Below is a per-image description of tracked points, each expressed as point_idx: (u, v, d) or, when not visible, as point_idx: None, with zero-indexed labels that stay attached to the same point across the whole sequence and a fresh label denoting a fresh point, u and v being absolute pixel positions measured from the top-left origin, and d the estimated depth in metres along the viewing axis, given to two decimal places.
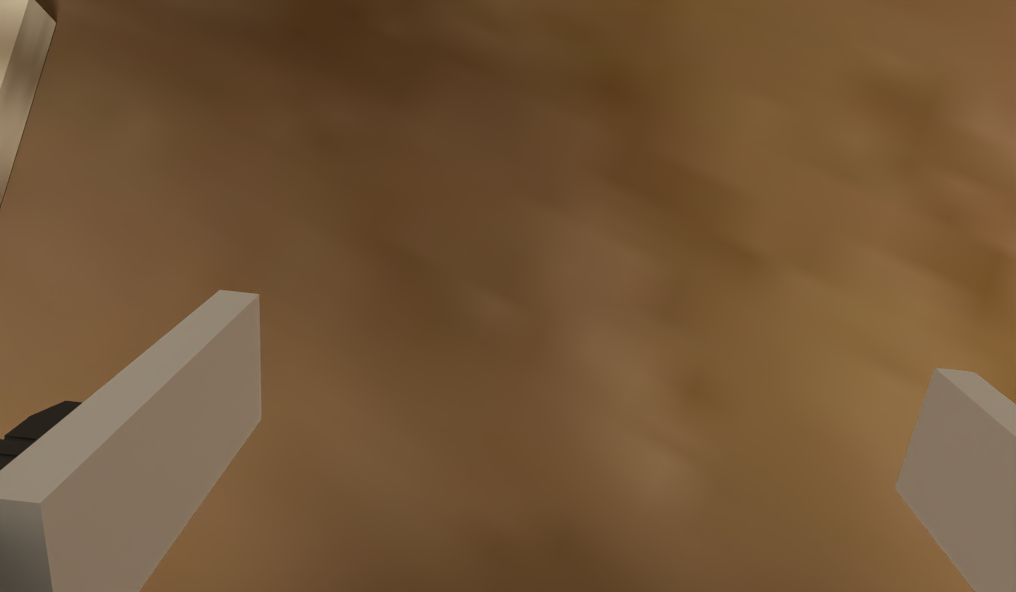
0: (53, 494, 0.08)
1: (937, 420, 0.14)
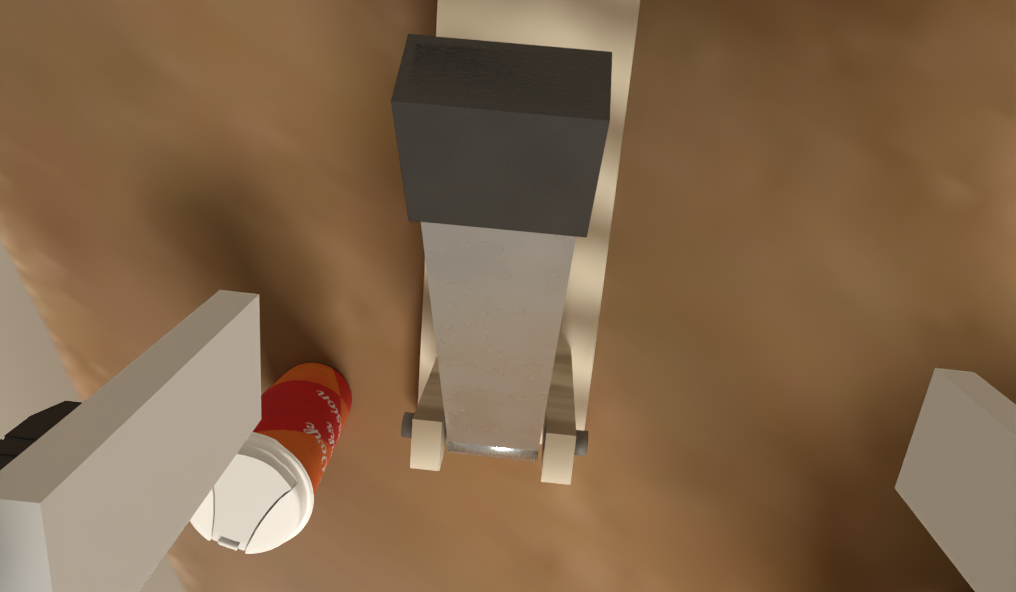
0: (53, 494, 0.08)
1: (937, 420, 0.14)
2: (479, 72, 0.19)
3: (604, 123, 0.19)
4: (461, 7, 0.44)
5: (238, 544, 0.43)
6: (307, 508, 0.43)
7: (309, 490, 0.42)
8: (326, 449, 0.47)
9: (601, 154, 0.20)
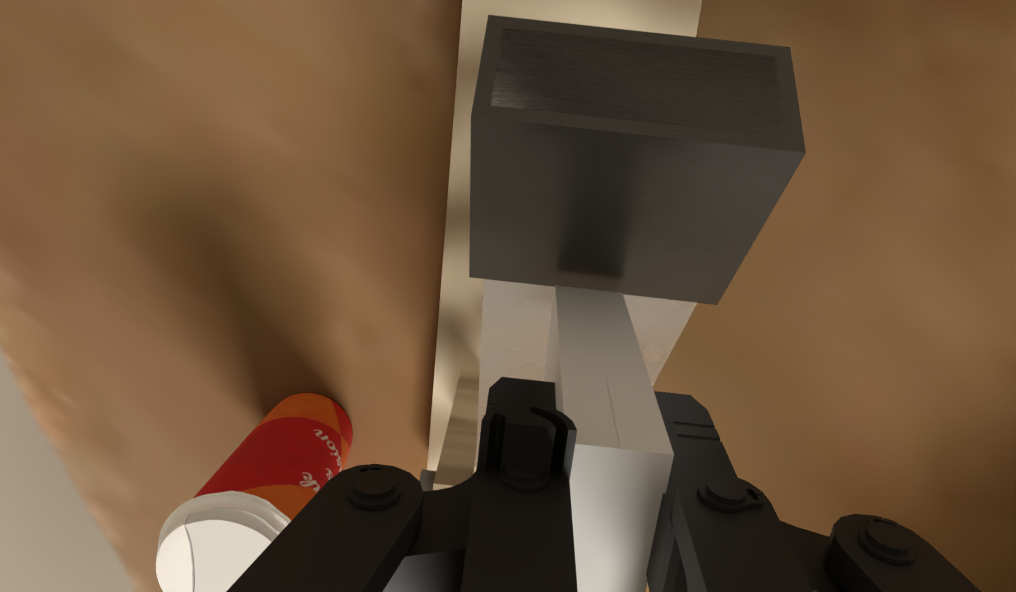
0: (617, 443, 0.10)
1: None
2: (599, 74, 0.13)
3: (795, 156, 0.12)
4: None
5: None
6: None
7: None
8: None
9: (775, 199, 0.13)
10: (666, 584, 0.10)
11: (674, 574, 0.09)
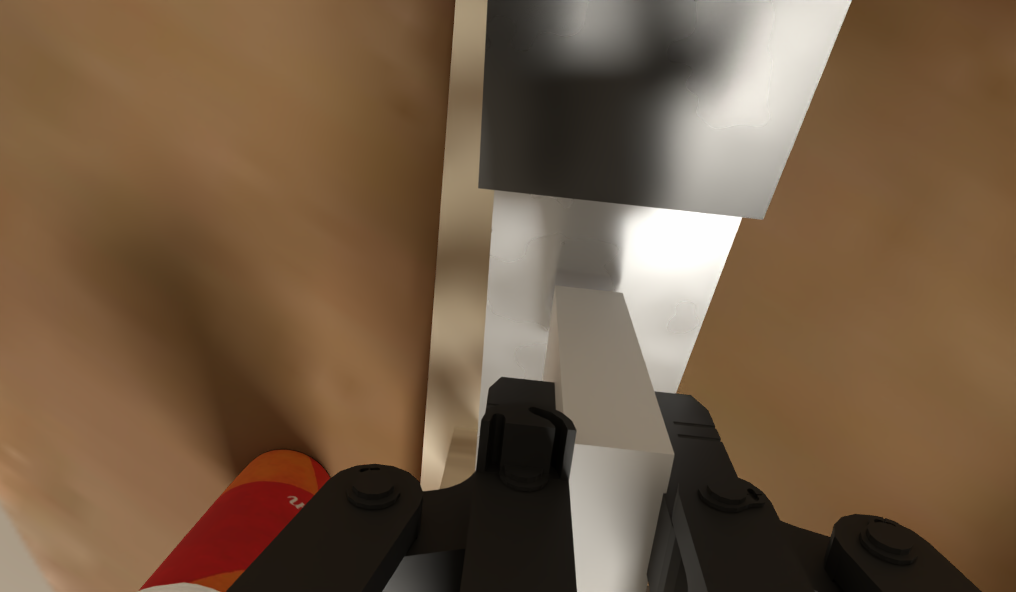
0: (616, 443, 0.10)
1: None
2: None
3: None
4: None
5: None
6: None
7: None
8: None
9: (834, 35, 0.12)
10: (667, 584, 0.10)
11: (675, 574, 0.09)
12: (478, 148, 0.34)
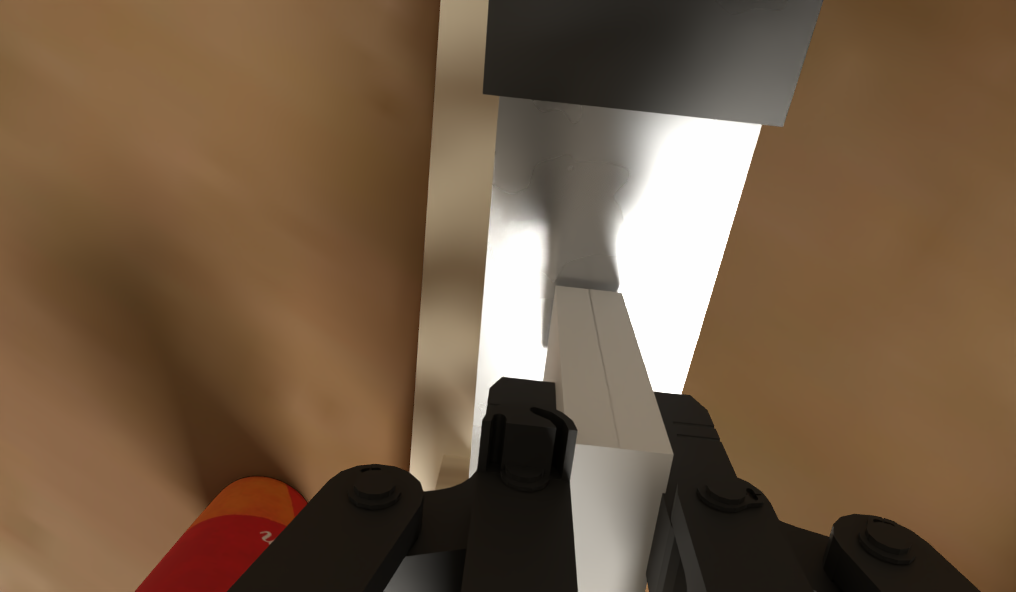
0: (617, 443, 0.10)
1: None
2: None
3: None
4: None
5: None
6: None
7: None
8: None
9: None
10: (666, 584, 0.10)
11: (674, 574, 0.09)
12: (468, 149, 0.31)
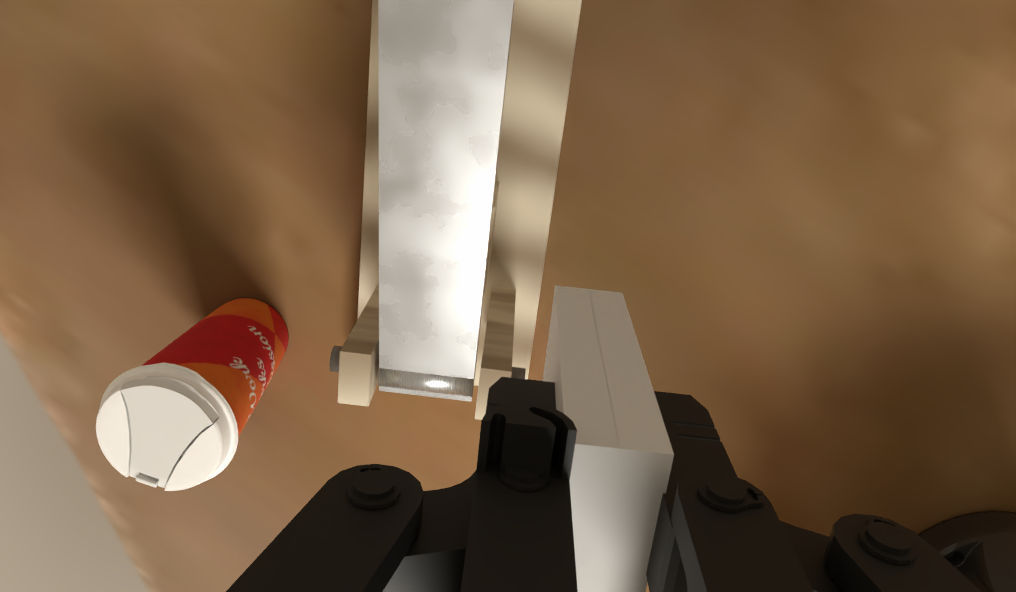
0: (617, 443, 0.10)
1: None
2: None
3: None
4: None
5: (157, 481, 0.41)
6: (231, 444, 0.41)
7: (233, 426, 0.40)
8: (255, 385, 0.45)
9: None
10: (666, 584, 0.10)
11: (674, 574, 0.09)
12: None
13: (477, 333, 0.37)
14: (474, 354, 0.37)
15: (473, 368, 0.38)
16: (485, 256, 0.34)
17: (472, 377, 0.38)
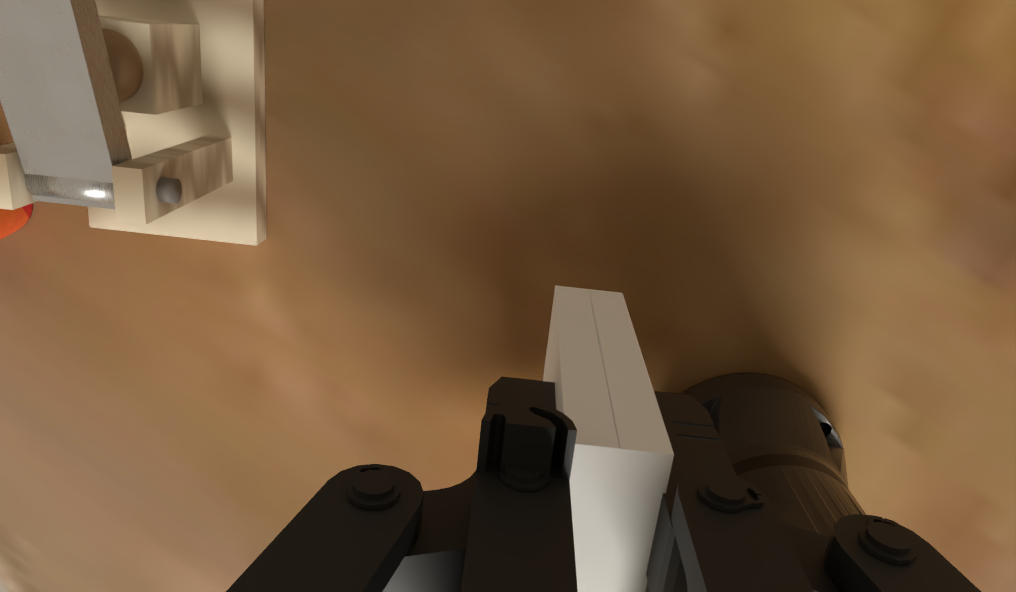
0: (617, 443, 0.10)
1: None
2: None
3: None
4: None
5: None
6: None
7: None
8: None
9: None
10: (666, 584, 0.10)
11: (674, 574, 0.09)
12: None
13: (101, 128, 0.38)
14: (107, 153, 0.39)
15: None
16: (78, 37, 0.35)
17: None
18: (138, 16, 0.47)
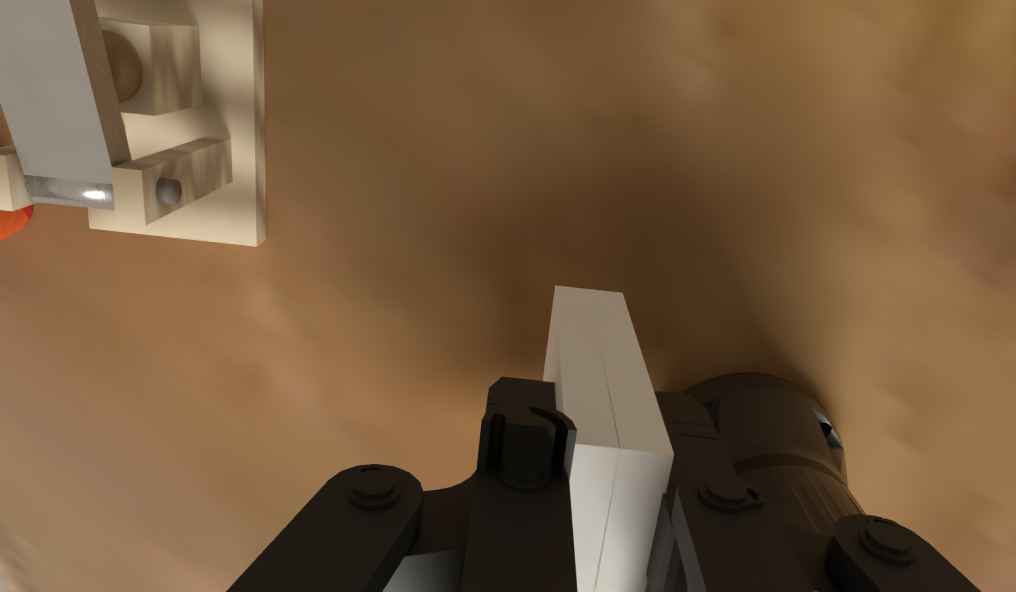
0: (617, 443, 0.10)
1: None
2: None
3: None
4: None
5: None
6: None
7: None
8: None
9: None
10: (666, 584, 0.10)
11: (674, 574, 0.09)
12: None
13: (101, 130, 0.38)
14: (106, 155, 0.39)
15: (111, 171, 0.39)
16: (77, 38, 0.35)
17: None
18: (138, 17, 0.47)
